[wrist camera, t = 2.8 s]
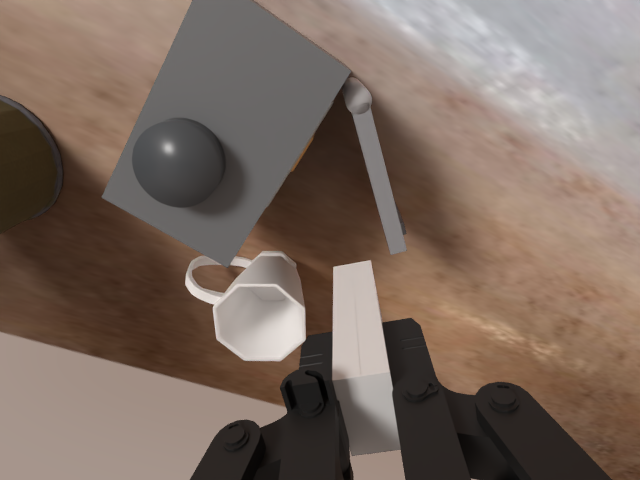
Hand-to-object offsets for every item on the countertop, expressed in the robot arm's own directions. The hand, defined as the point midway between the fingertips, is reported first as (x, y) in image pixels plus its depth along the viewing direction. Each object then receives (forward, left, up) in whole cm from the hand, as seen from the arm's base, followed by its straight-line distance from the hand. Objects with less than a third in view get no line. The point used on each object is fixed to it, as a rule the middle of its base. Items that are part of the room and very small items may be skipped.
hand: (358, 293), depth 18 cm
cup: (-2, -11, -19) cm, 22 cm away
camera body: (-8, 0, -19) cm, 21 cm away
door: (0, +3, -18) cm, 18 cm away
